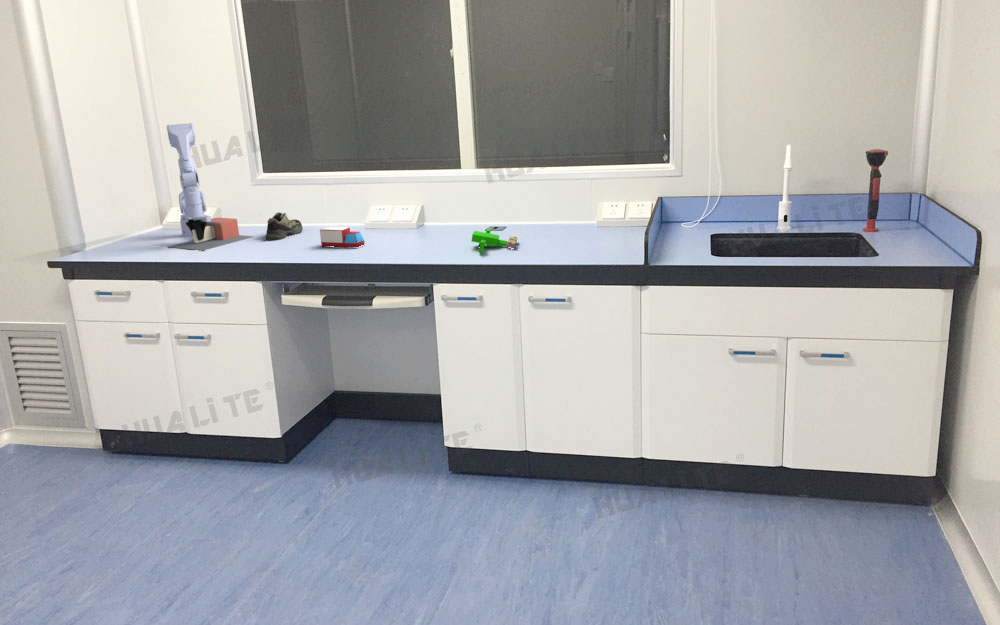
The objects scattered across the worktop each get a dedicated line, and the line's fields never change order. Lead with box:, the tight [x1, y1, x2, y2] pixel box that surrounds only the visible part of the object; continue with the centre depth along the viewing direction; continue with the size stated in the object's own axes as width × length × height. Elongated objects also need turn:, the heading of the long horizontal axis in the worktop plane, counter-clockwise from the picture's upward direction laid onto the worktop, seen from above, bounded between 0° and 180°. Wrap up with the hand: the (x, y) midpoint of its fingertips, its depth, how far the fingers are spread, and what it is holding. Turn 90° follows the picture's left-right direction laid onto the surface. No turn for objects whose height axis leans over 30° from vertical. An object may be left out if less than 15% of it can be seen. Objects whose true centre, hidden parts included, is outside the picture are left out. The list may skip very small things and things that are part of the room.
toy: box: [471, 228, 518, 254], centre depth 282 cm, size 22×5×15 cm
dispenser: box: [206, 216, 240, 240], centre depth 321 cm, size 11×9×7 cm
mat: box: [167, 234, 255, 252], centre depth 315 cm, size 20×25×1 cm
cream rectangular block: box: [192, 225, 216, 243], centre depth 315 cm, size 2×11×5 cm, turn 150°
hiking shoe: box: [265, 211, 303, 241], centre depth 321 cm, size 8×21×9 cm, turn 166°
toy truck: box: [319, 226, 365, 247], centre depth 296 cm, size 6×15×7 cm, turn 69°
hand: (199, 239), depth 313 cm, fingers closed on cream rectangular block
